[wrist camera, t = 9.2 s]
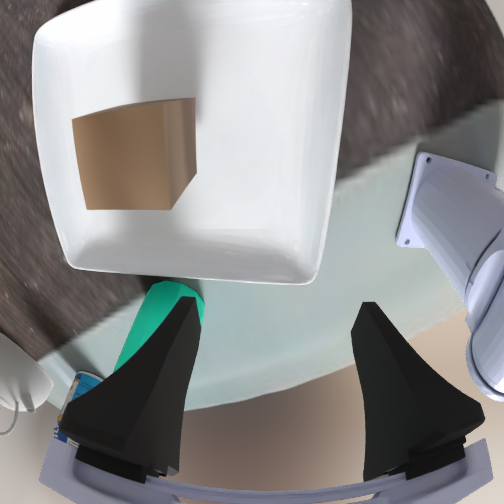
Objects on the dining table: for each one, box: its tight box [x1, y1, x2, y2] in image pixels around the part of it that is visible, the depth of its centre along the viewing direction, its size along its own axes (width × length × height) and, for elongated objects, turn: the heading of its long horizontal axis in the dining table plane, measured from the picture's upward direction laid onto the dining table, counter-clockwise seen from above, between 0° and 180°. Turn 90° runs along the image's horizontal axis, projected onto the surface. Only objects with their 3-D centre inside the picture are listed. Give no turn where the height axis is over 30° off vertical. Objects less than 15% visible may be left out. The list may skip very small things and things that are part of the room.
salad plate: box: [32, 0, 352, 285], centre depth 16 cm, size 21×21×3 cm
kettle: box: [0, 333, 54, 436], centre depth 34 cm, size 25×23×22 cm
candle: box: [113, 281, 204, 394], centre depth 21 cm, size 6×6×12 cm
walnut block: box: [72, 97, 197, 210], centre depth 12 cm, size 4×4×5 cm
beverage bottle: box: [54, 371, 103, 449], centre depth 32 cm, size 8×8×20 cm
